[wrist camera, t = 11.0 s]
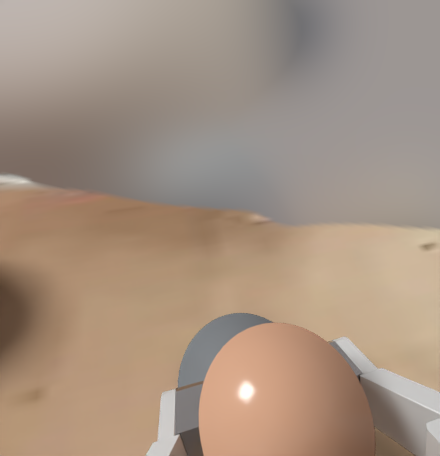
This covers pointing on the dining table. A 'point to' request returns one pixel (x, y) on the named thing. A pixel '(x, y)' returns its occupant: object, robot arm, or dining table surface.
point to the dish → (212, 344)
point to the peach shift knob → (283, 398)
